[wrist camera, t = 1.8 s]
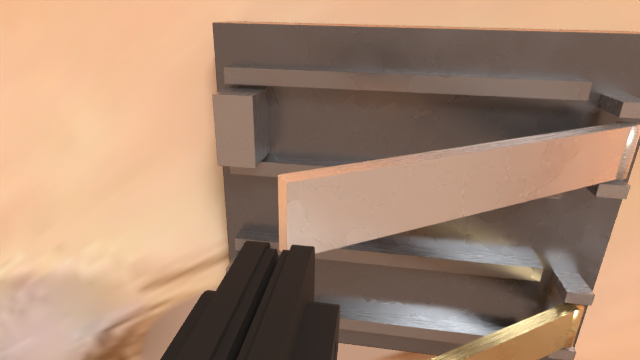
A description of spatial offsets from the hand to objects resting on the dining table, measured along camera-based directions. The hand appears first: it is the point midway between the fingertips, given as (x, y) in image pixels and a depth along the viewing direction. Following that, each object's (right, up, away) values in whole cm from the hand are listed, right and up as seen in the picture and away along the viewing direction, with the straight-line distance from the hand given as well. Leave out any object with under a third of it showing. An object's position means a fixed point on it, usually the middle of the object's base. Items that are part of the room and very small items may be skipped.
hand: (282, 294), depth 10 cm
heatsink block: (+7, +2, +22) cm, 23 cm away
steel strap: (+9, +3, +9) cm, 13 cm away
